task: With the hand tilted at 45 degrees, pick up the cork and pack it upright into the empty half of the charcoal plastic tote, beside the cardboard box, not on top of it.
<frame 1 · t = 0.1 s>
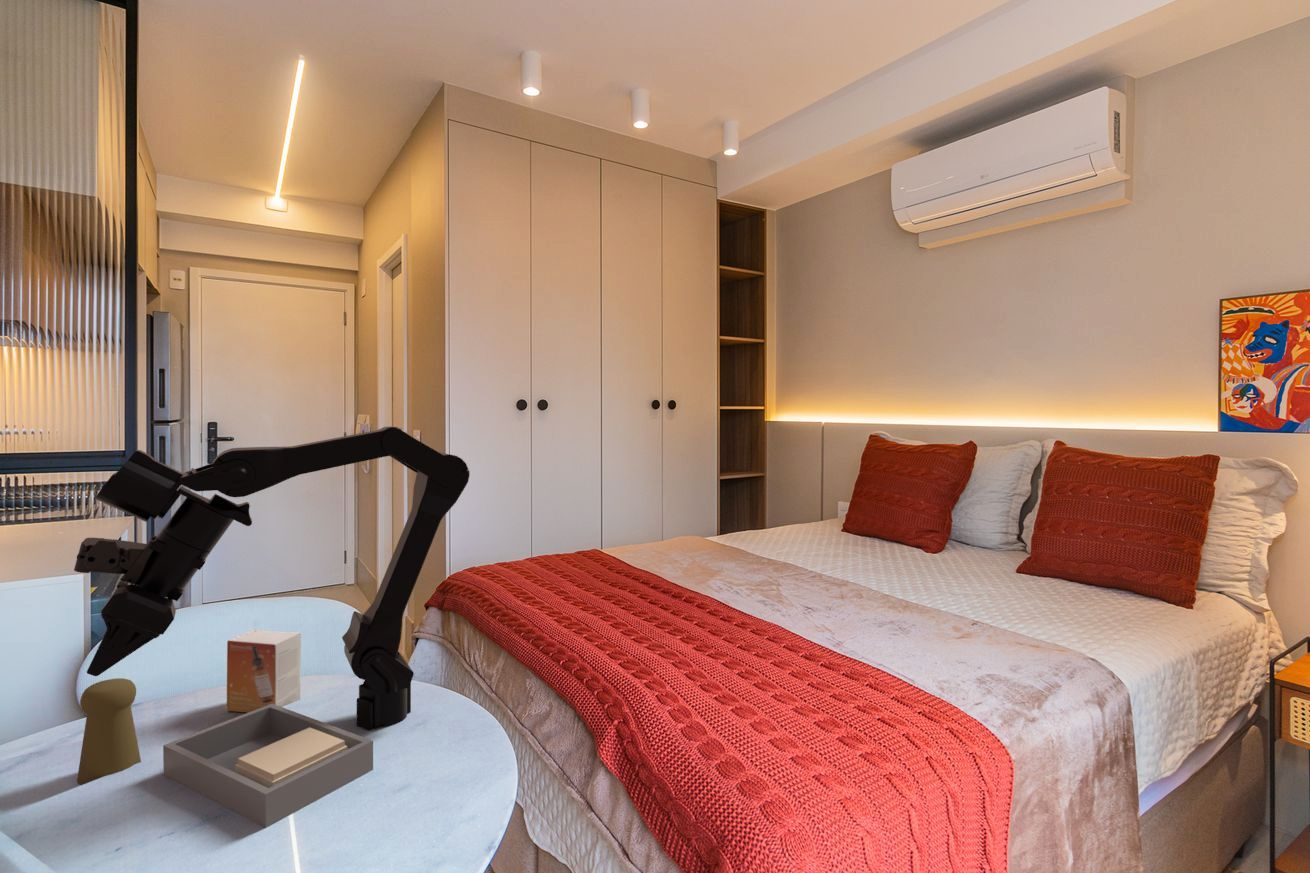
hand: (98, 661, 77), 15 cm above the table, tool tilted 35°, fingers open, 9 cm apart
small box: (264, 707, 99), on the table
tote: (269, 780, 80), on the table
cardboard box: (293, 782, 77), point 1 cm above the table, touching tote
cork: (110, 774, 81), on the table
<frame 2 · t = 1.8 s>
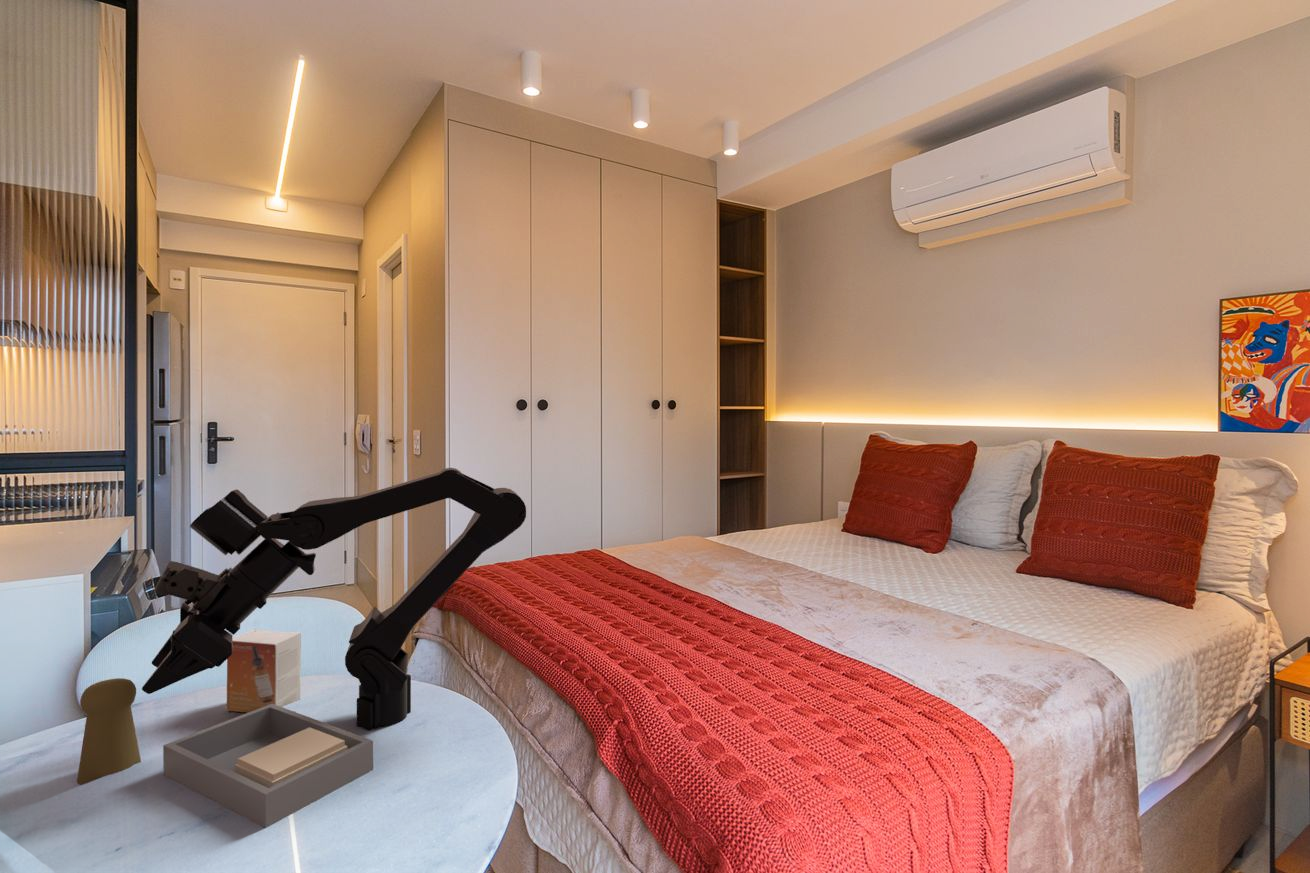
hand: (150, 677, 82), 11 cm above the table, tool tilted 45°, fingers open, 9 cm apart
nothing on the table moved.
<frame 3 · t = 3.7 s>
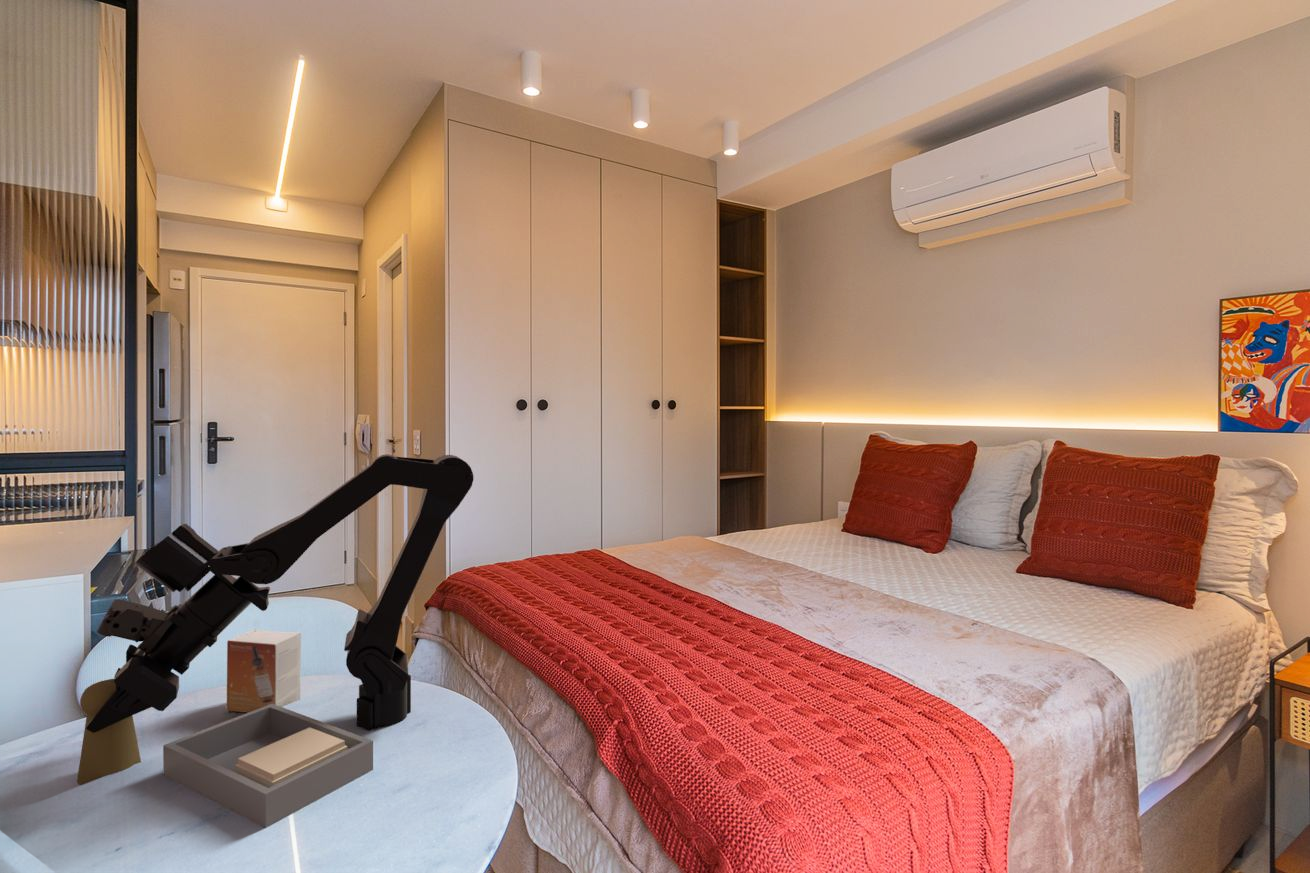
hand: (94, 721, 80), 7 cm above the table, tool tilted 45°, fingers closed on cork, 5 cm apart
cork: (109, 774, 81), on the table, touching gripper
everything else where it was.
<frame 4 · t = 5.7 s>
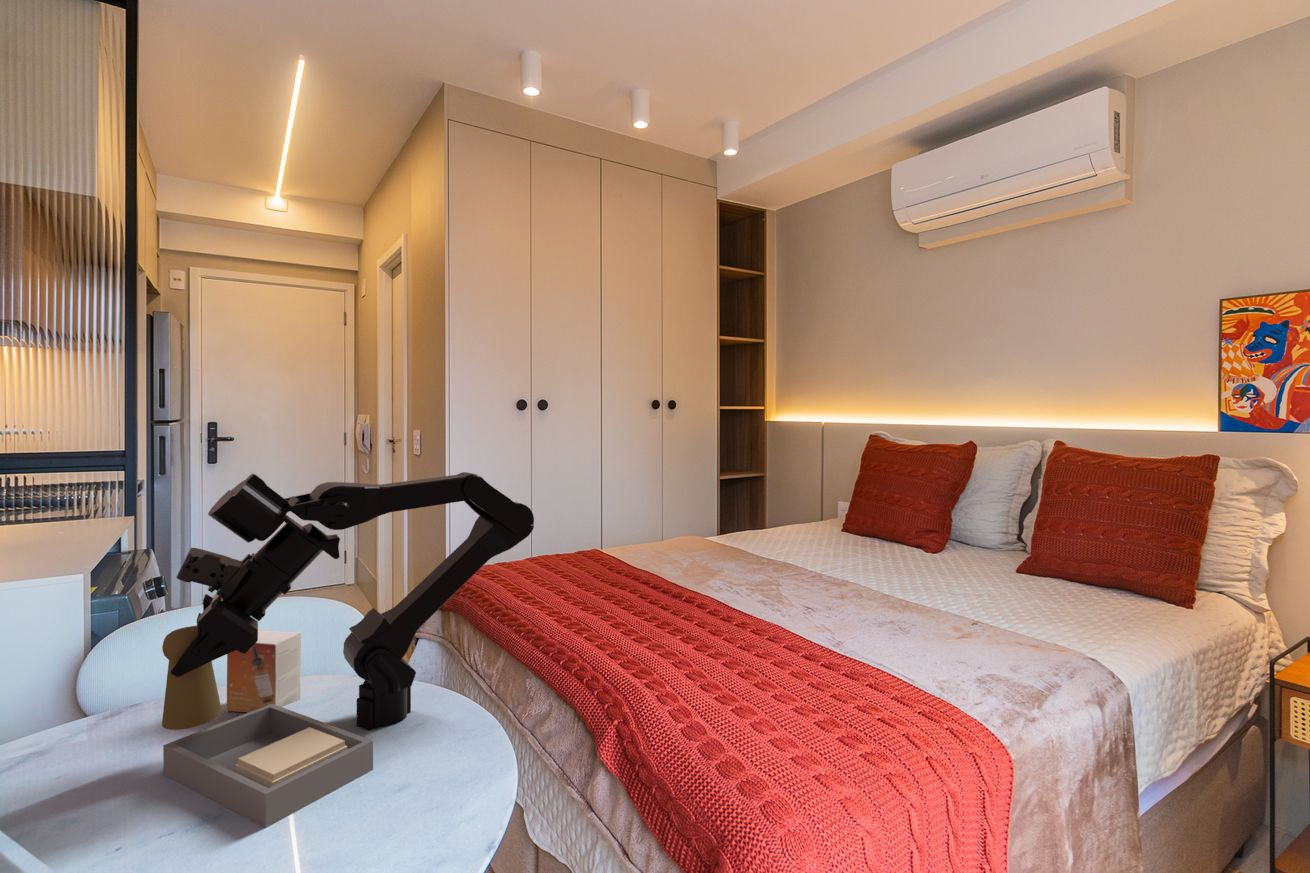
hand: (176, 666, 80), 13 cm above the table, tool tilted 45°, fingers closed on cork, 5 cm apart
cork: (192, 719, 82), point 6 cm above the table, touching gripper
everything else where it was.
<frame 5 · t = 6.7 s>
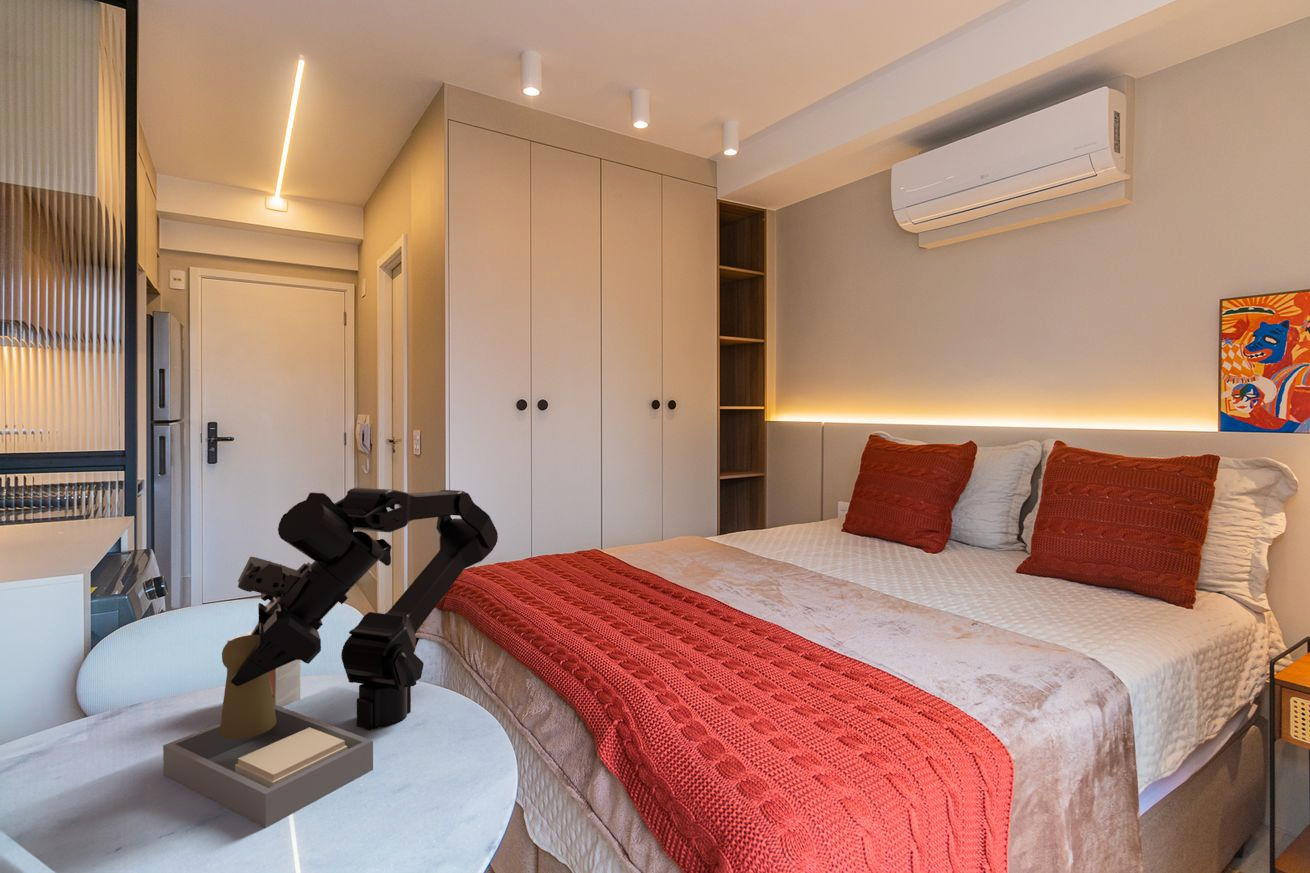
hand: (234, 675, 81), 12 cm above the table, tool tilted 45°, fingers closed on cork, 5 cm apart
cork: (248, 728, 82), point 5 cm above the table, touching gripper
everything else where it was.
when the fingers open (9 cm above the table, at t = 7.7 s): cork drops 1 cm, resting on tote.
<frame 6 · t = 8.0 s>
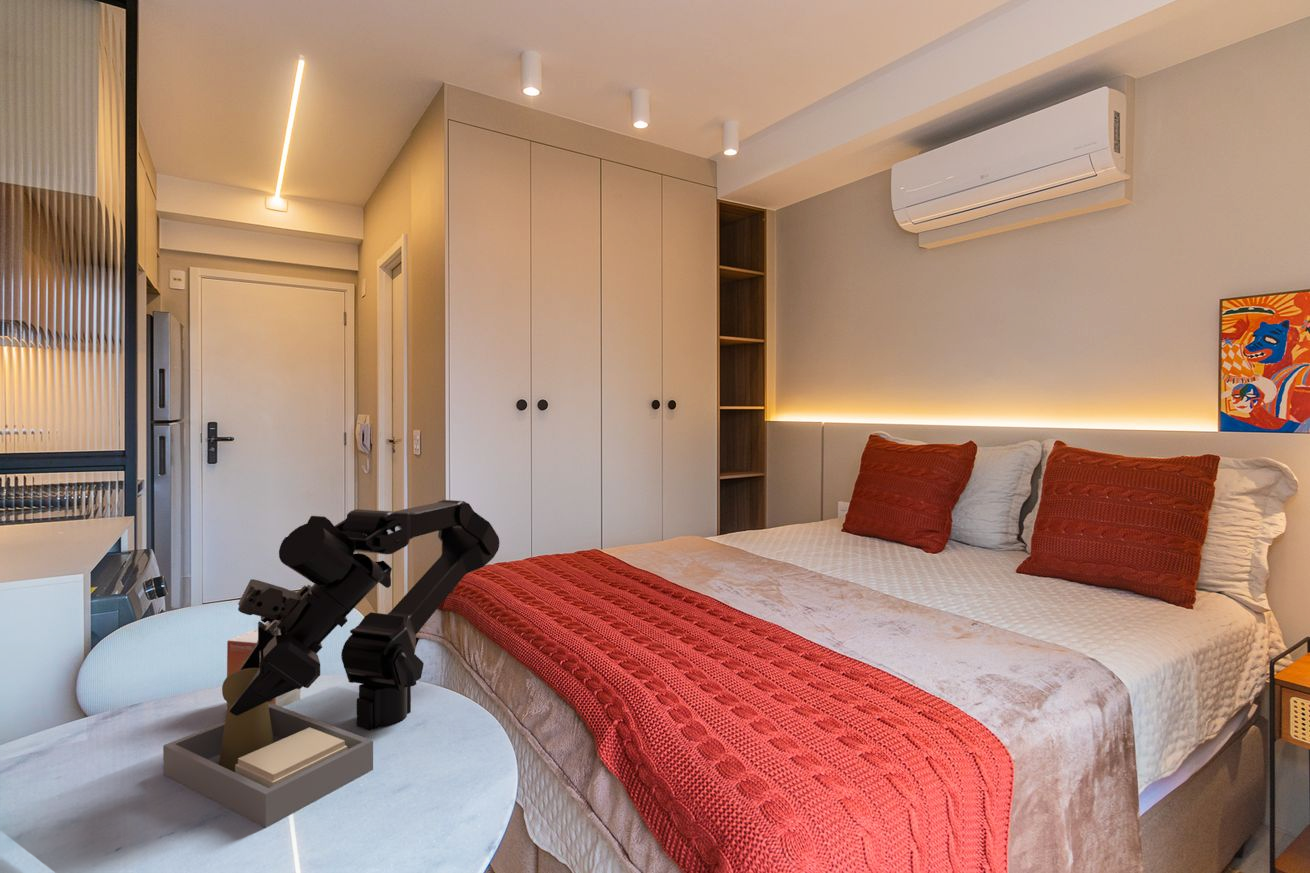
hand: (233, 699, 81), 9 cm above the table, tool tilted 45°, fingers open, 8 cm apart
cork: (247, 762, 82), point 1 cm above the table, touching tote
everything else where it was.
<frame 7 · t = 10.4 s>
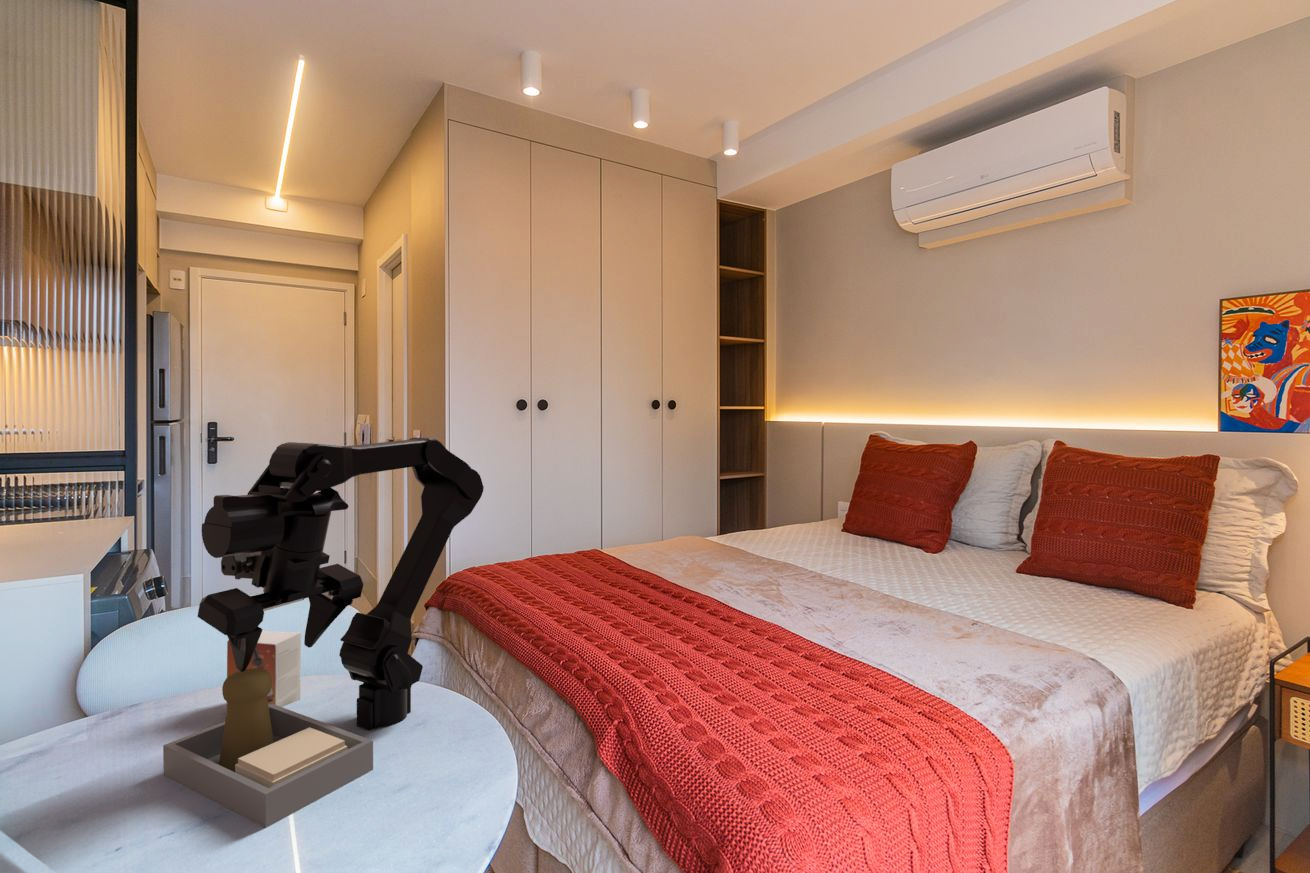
hand: (275, 657, 85), 12 cm above the table, tool tilted 15°, fingers open, 9 cm apart
nothing on the table moved.
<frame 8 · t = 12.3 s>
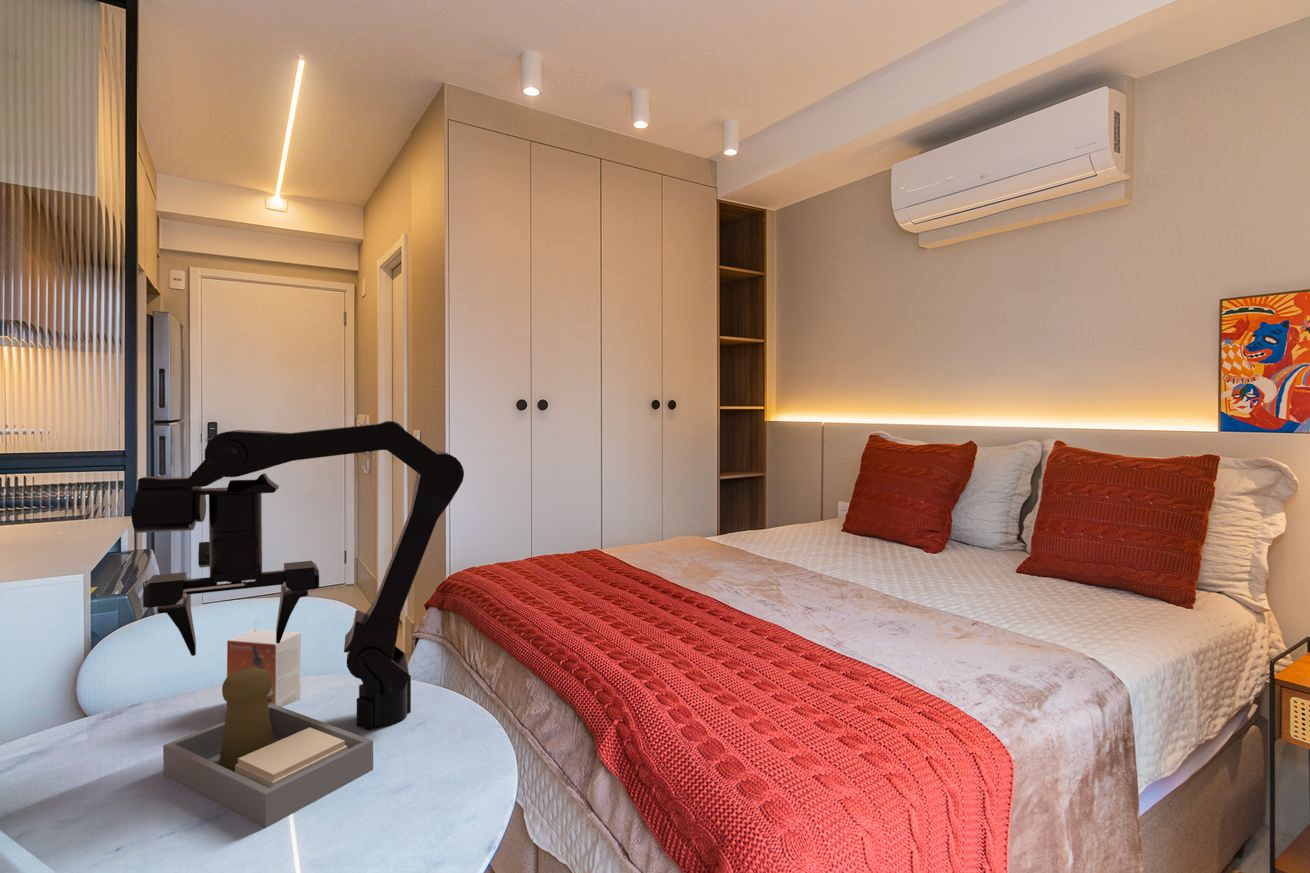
hand: (237, 648, 87), 13 cm above the table, tool pointing down, fingers open, 9 cm apart
nothing on the table moved.
at the end: cork inside the target area on the tote (0.5 cm from its centre), point 0.8 cm above the tote's base; cork tilted 0°; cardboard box moved 0.0 cm from its start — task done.
